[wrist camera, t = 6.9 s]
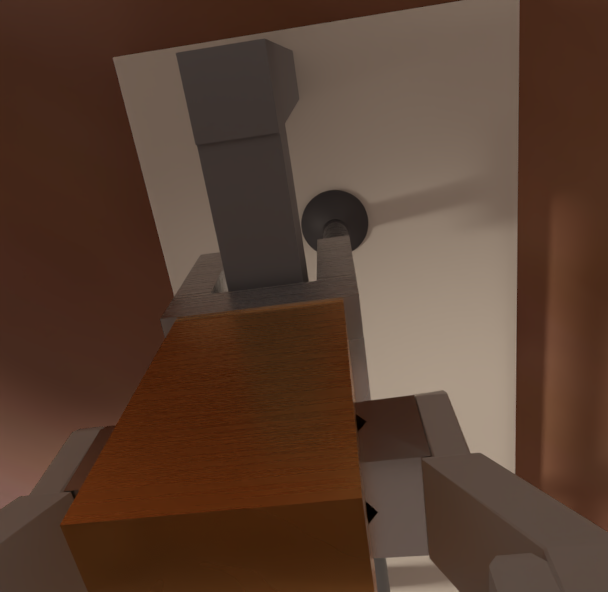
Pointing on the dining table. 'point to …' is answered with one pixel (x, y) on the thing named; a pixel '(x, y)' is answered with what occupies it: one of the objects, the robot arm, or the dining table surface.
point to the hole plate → (358, 191)
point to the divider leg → (238, 445)
